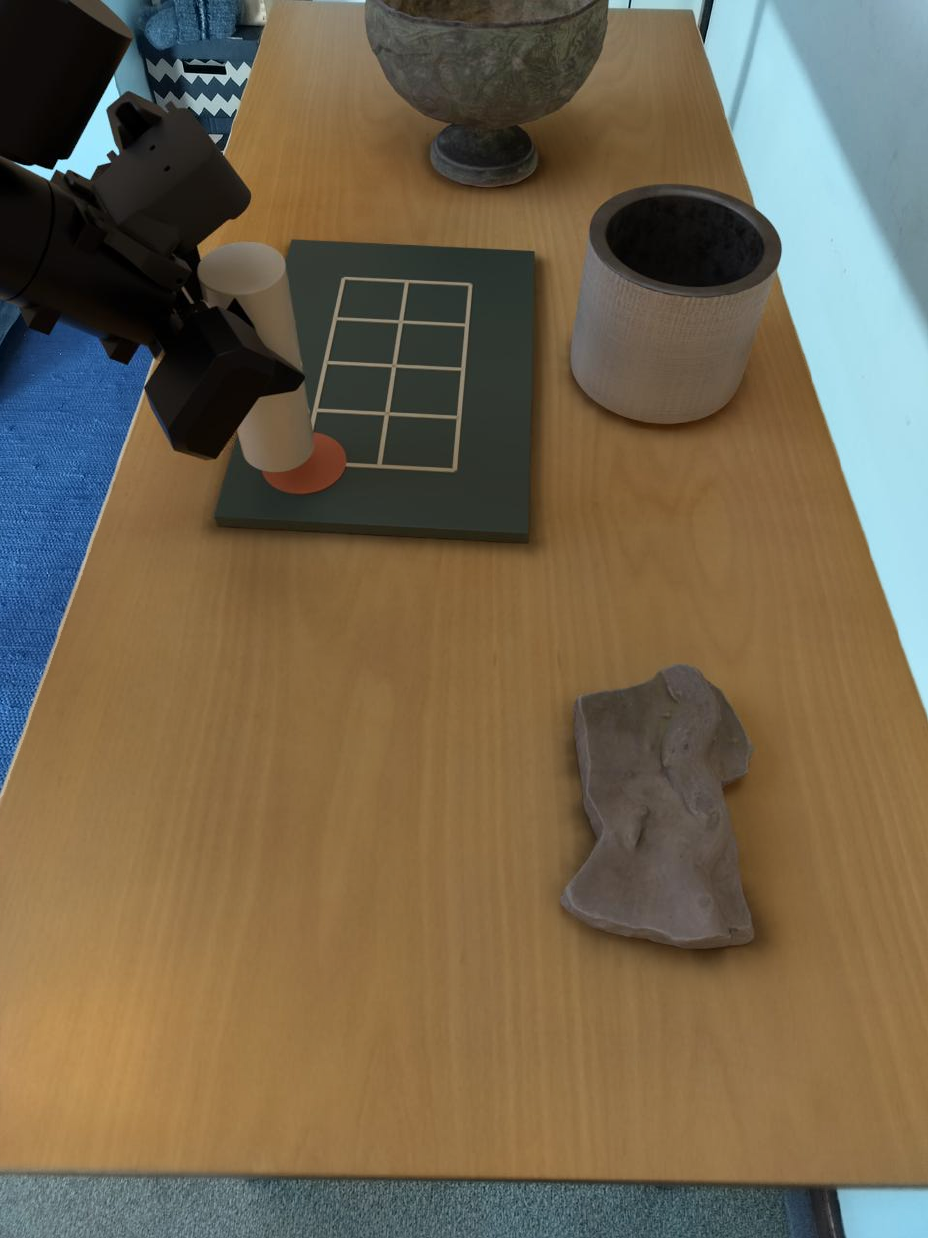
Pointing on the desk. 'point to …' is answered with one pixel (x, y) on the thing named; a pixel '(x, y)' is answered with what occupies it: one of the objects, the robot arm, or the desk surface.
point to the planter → (671, 301)
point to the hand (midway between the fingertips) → (283, 357)
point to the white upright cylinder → (262, 288)
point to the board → (404, 396)
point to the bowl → (486, 73)
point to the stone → (661, 812)
